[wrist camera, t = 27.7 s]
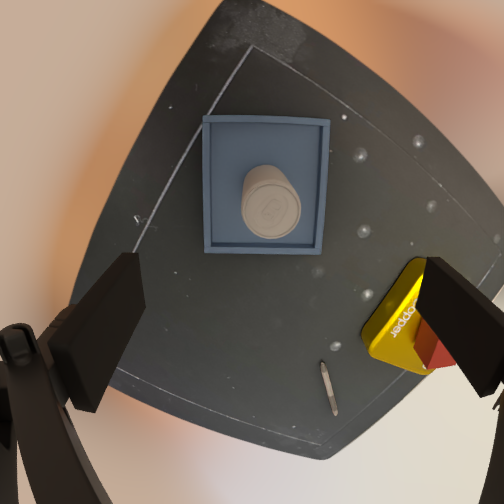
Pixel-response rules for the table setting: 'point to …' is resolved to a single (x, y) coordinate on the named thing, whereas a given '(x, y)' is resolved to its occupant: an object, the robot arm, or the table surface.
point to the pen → (329, 389)
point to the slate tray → (256, 154)
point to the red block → (431, 349)
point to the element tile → (398, 322)
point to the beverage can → (269, 203)
